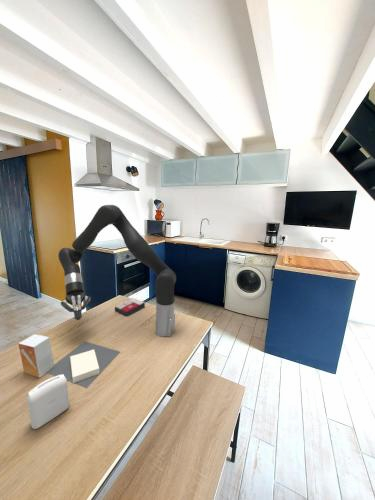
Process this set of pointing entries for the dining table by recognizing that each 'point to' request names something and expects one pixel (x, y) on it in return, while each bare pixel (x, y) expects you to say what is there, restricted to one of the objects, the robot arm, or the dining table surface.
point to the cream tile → (84, 365)
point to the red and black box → (129, 307)
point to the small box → (36, 355)
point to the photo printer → (48, 400)
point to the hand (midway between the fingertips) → (78, 319)
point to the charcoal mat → (102, 353)
